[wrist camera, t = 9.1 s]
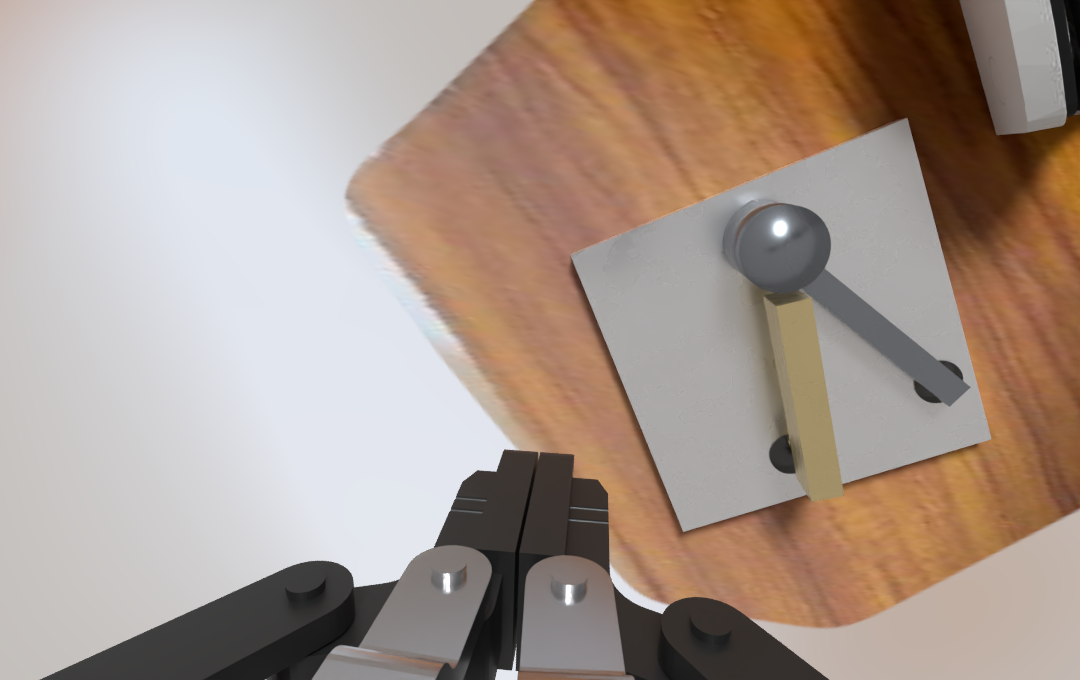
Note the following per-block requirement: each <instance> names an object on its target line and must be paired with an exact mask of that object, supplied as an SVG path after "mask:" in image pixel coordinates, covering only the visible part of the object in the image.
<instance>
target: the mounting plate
mask: <svg viewBox="0 0 1080 680" xmlns="http://www.w3.org/2000/svg"><path fill="white" fill-rule="evenodd" d="M570 256H571V258H572V260H573V263H574V265H575V268H576V270H577V273H578V275H579V278H580V280H581V282H582V285H583V287H584V290H585V292H586V295H587V297H588V300H589V302H590V305H591V307H592V309H593V312H594V314H595V317H596V319H597V322H598V324H599V327H600V329H601V331H602V334H603V336H604V339H605V341H606V344H607V346H608V349H609V351H610V353H611V356H612V358H613V361H614V363H615V366H616V368H617V371H618V373H619V375H620V378H621V380H622V383H623V385H624V388H625V390H626V393H627V395H628V398H629V400H630V402H631V405H632V407H633V410H634V412H635V415H636V417H637V420H638V422H639V424H640V427H641V429H642V432H643V434H644V437H645V439H646V442H647V444H648V446H649V449H650V451H651V454H652V456H653V459H654V461H655V464H656V466H657V469H658V471H659V473H660V476H661V478H662V481H663V483H664V486H665V488H666V491H667V493H668V495H669V498H670V500H671V503H672V505H673V508H674V510H675V513H676V515H677V517H678V520H679V522H680V525H681V527H682V530H683V532H685V531H688V530H691V529H695V528H698V527H701V526H705V525H708V524H711V523H715V522H718V521H721V520H725V519H728V518H731V517H735V516H738V515H741V514H745V513H748V512H751V511H755V510H758V509H761V508H765V507H768V506H771V505H774V504H778V503H781V502H784V501H788V500H791V499H794V498H798V497H801V496H804V495H807V494H806V492H805V491H804V489H803V488H802V486H801V484H800V483H799V481H798V480H797V477H796V472H795V466H794V461H793V455H792V450H791V445H790V439H789V434H788V428H787V423H786V418H785V412H784V407H783V401H782V396H781V390H780V385H779V380H778V374H777V369H776V363H775V358H774V353H773V347H772V342H771V336H770V331H769V325H768V320H767V315H766V309H765V304H764V298H763V296H764V295H768V294H772V293H789V292H794V291H797V290H800V291H801V292H803V293H804V294H806V295H808V296H809V297H811V298H812V303H813V309H814V315H815V321H816V327H817V334H818V340H819V346H820V352H821V358H822V364H823V370H824V376H825V382H826V388H827V394H828V401H829V407H830V413H831V419H832V425H833V431H834V437H835V443H836V449H837V455H838V461H839V467H840V474H841V480H842V484H844V483H848V482H851V481H854V480H858V479H861V478H864V477H868V476H871V475H874V474H878V473H881V472H884V471H887V470H891V469H894V468H897V467H901V466H904V465H907V464H911V463H914V462H917V461H921V460H924V459H927V458H931V457H934V456H937V455H941V454H944V453H947V452H951V451H954V450H957V449H961V448H964V447H967V446H971V445H974V444H977V443H981V442H984V441H987V440H990V439H991V435H990V431H989V428H988V424H987V420H986V416H985V412H984V409H983V405H982V401H981V397H980V393H979V389H978V386H977V382H976V378H975V374H974V370H973V367H972V363H971V359H970V355H969V351H968V347H967V344H966V340H965V336H964V332H963V328H962V325H961V321H960V317H959V313H958V309H957V305H956V302H955V298H954V294H953V290H952V286H951V283H950V279H949V275H948V271H947V267H946V264H945V260H944V256H943V252H942V248H941V244H940V241H939V237H938V233H937V229H936V225H935V222H934V218H933V214H932V210H931V206H930V202H929V199H928V195H927V191H926V187H925V183H924V180H923V176H922V172H921V168H920V164H919V161H918V157H917V153H916V149H915V145H914V141H913V138H912V134H911V130H910V126H909V122H908V119H907V118H903V119H897V120H895V121H892V122H890V123H887V124H885V125H883V126H880V127H878V128H875V129H873V130H870V131H868V132H865V133H863V134H861V135H858V136H856V137H853V138H851V139H848V140H846V141H843V142H841V143H839V144H836V145H834V146H831V147H829V148H826V149H824V150H821V151H819V152H817V153H814V154H812V155H809V156H807V157H804V158H802V159H799V160H797V161H795V162H792V163H790V164H787V165H785V166H782V167H780V168H777V169H775V170H773V171H770V172H768V173H765V174H763V175H760V176H758V177H755V178H753V179H751V180H748V181H746V182H743V183H741V184H738V185H736V186H733V187H731V188H729V189H726V190H724V191H721V192H719V193H716V194H714V195H711V196H709V197H707V198H704V199H702V200H699V201H697V202H694V203H692V204H689V205H687V206H685V207H682V208H680V209H677V210H675V211H672V212H670V213H668V214H665V215H663V216H660V217H658V218H655V219H653V220H650V221H648V222H646V223H643V224H641V225H638V226H636V227H633V228H631V229H628V230H626V231H624V232H621V233H619V234H616V235H614V236H611V237H609V238H606V239H604V240H602V241H599V242H597V243H594V244H592V245H589V246H587V247H584V248H582V249H580V250H577V251H575V252H572V253H571V255H570Z"/></svg>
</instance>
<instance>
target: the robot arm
mask: <svg viewBox="0 0 1080 680" xmlns="http://www.w3.org/2000/svg"><path fill="white" fill-rule="evenodd" d="M573 468H574V455H572V454H558V453H545V452H541V453H540V456H539V461H538V452H531V451H517V450H504V451H503V454H502V457H501V460H500V463H499V466H498V469H497V472H491V471H479V470H478V471H476V472H475V473H474V474H472V475H471V476H470V477H469V478H467V479H466V480H464V481H463V482H462V484H461V487H460V489H459V491H458V493H457V496H456V499H455V500H454V503H453V505H452V507H451V511H450V512H449V514H448V517H447V519H446V521H445V523H444V526H443V528H442V530H441V532H440V535H439V537H438V539H437V542H436V544H435V546H434V548H432V549H429V550H427V551H425V552H423V553H421V554H419V555H418V556H416V557H415V558H414V559H413V560H412V561H411V562H410V564H409V565H408V566H407V568H406V570H405V571H404V573H403V575H402V576H401V578H400V579H399V580H397V581H393V582H389V583H383V584H377V585H369V586H362V587H354V584H353V577H352V575H351V573H350V572H349V571H348V569H346V568H345V567H344V566H342V565H340V564H338V563H334V562H329V561H309V562H304V563H300V564H296V565H293V566H291V567H288V568H285V569H283V570H281V571H279V572H277V573H275V574H273V575H270V576H268V577H266V578H263V579H261V580H259V581H257V582H255V583H252V584H250V585H248V586H246V587H243V588H241V589H239V590H237V591H235V592H232V593H230V594H228V595H226V596H224V597H221V598H219V599H217V600H215V601H213V602H210V603H208V604H206V605H204V606H202V607H199V608H198V609H195V610H193V611H191V612H188V613H186V614H184V615H182V616H180V617H177V618H175V619H173V620H171V621H168V622H167V623H164V624H162V625H160V626H158V627H155V628H153V629H151V630H149V631H146V632H144V633H142V634H140V635H138V636H135V637H133V638H131V639H129V640H127V641H124V642H122V643H120V644H118V645H116V646H113V647H111V648H109V649H107V650H105V651H102V652H100V653H98V654H96V655H93V656H91V657H89V658H87V659H85V660H83V661H80V662H78V663H76V664H74V665H72V666H69V667H67V668H65V669H63V670H60V671H58V672H56V673H54V674H52V675H49V676H47V677H45V678H43V679H41V680H265V679H267V680H495V677H496V672H497V669H503V670H512V667H513V661H514V656H515V650H516V644H517V650H516V671H518V680H829V679H828V678H826V677H825V676H823V675H822V674H821V673H820V672H818V671H817V670H816V669H814V668H813V667H812V666H810V665H809V664H808V663H807V662H805V661H804V660H803V659H801V658H800V657H799V656H797V655H796V654H795V653H794V652H792V651H791V650H790V649H788V648H787V647H786V646H784V645H783V644H782V643H781V642H779V641H778V640H777V639H775V638H774V637H772V636H771V635H770V634H769V633H767V632H766V631H765V630H764V629H762V628H761V627H760V626H758V625H757V624H756V623H754V622H753V621H752V620H751V619H749V618H748V617H747V616H745V615H744V614H743V613H741V612H740V611H738V610H737V609H735V608H734V607H732V606H730V605H728V604H725V603H723V602H720V601H717V600H714V599H709V598H701V597H691V598H684V599H681V600H678V601H675V602H674V603H672V604H670V605H669V606H668V607H667V608H666V609H665V611H664V613H663V614H660V613H658V612H655V611H652V610H649V609H646V608H643V607H641V606H639V605H637V604H635V603H633V602H631V601H630V600H628V599H627V598H625V597H624V596H623V595H622V594H621V593H620V592H619V591H618V590H617V589H616V587H615V586H614V584H613V582H612V579H611V577H610V567H609V524H608V493H607V492H606V490H605V489H604V488H603V486H602V485H601V484H600V482H599V481H598V480H594V479H582V478H573Z"/></svg>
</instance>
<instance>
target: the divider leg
mask: <svg viewBox="0 0 1080 680" xmlns="http://www.w3.org/2000/svg"><path fill="white" fill-rule="evenodd" d="M763 298H764V304H765V309H766V315H767V320H768V325H769V331H770V336H771V342H772V347H773V353H774V358H775V363H776V369H777V374H778V380H779V385H780V390H781V396H782V401H783V407H784V412H785V418H786V423H787V428H788V434H789V439H790V445H791V450H792V455H793V461H794V466H795V472H796V477H797V480H798V481H799V483H800V484H801V486H802V488H803V489H804V491H805V492H806V494H807V496H808V497H809V499H810V500H811V502H813V501H818V500H824V499H829V498H835V497H840V496H844V492H843V486H842V480H841V474H840V467H839V461H838V455H837V449H836V443H835V437H834V431H833V425H832V419H831V413H830V407H829V401H828V394H827V388H826V382H825V376H824V370H823V364H822V358H821V352H820V346H819V340H818V334H817V327H816V321H815V315H814V309H813V303H812V298H811V297H809V296H808V295H806V294H804V293H803V292H801V291H800V290H797V291H794V292H789V293H772V294H768V295H764V296H763Z"/></svg>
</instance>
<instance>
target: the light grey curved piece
mask: <svg viewBox="0 0 1080 680" xmlns="http://www.w3.org/2000/svg"><path fill="white" fill-rule="evenodd" d="M959 1H960V4H961V8H962V12H963V15H964V19H965V23H966V26H967V30H968V33H969V37H970V41H971V44H972V48H973V52H974V55H975V59H976V63H977V66H978V70H979V73H980V77H981V81H982V84H983V88H984V92H985V95H986V99H987V103H988V106H989V110H990V113H991V117H992V121H993V124H994V128H995V132H996V135H1005V134H1016V133H1027V132H1032V131H1038V130H1043V129H1048V128H1054V127H1059V126H1063V125H1064V124H1065V122H1066V117H1069V116H1072V115H1078V114H1080V0H959Z"/></svg>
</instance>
